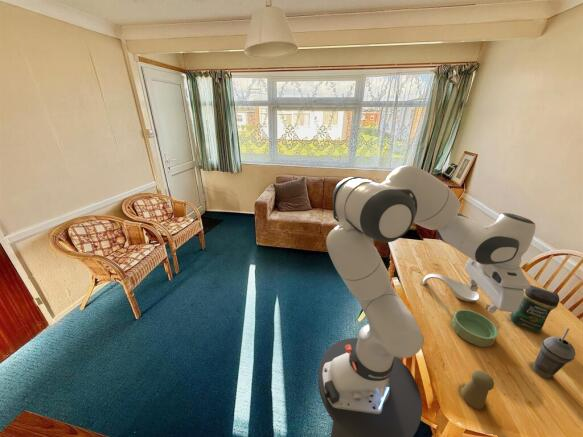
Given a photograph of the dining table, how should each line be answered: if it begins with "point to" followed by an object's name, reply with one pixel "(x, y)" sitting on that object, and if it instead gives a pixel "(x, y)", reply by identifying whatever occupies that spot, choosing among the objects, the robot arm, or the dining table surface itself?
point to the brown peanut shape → (477, 389)
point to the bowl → (474, 327)
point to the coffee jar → (534, 308)
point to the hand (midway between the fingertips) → (480, 299)
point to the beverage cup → (553, 355)
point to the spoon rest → (456, 288)
